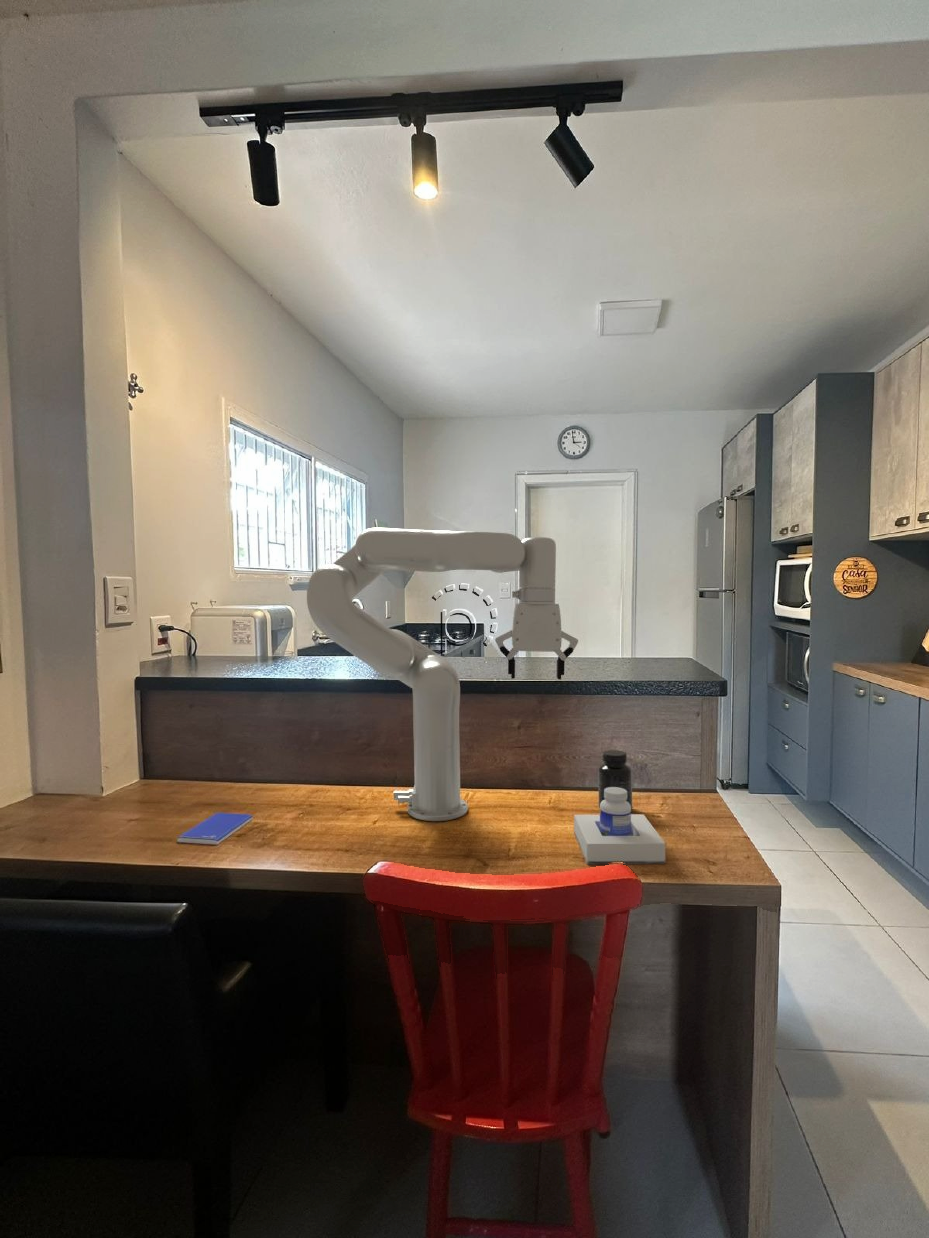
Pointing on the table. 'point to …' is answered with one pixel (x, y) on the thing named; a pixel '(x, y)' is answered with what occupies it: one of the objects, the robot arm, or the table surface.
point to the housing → (619, 842)
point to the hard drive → (215, 828)
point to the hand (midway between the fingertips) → (535, 678)
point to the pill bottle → (615, 813)
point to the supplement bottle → (615, 774)
